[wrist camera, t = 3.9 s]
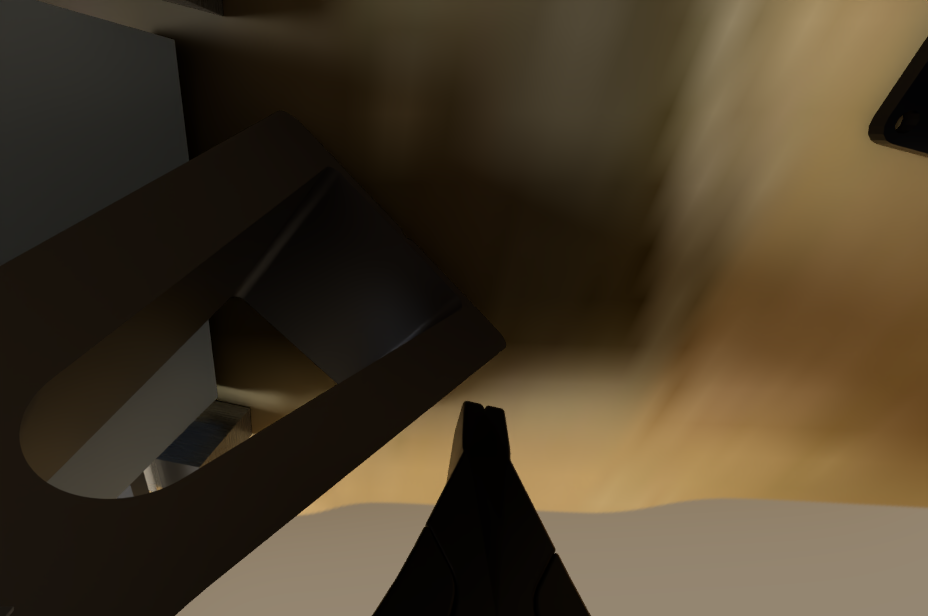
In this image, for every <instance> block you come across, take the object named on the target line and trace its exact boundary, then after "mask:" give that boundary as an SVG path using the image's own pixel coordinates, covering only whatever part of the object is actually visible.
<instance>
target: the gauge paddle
mask: <svg viewBox="0 0 928 616" xmlns="http://www.w3.org/2000/svg"><path fill="white" fill-rule="evenodd" d="M188 161H189V155H188V147H187V139H186V131H185V122H184V114H183V106H182V98H181V90H180V81H179V73H178V65H177V57H176V48H175V40H174V39H170V38H167V37H163V36H160V35H156V34H152V33H149V32H145V31H142V30H138V29H135V28H131V27H128V26H124V25H121V24H117V23H114V22H110V21H107V20H103V19H100V18H96V17H92V16H89V15H85V14H82V13H78V12H75V11H71V10H68V9H64V8H61V7H57V6H54V5H50V4H47V3H43V2H40V1H36V0H0V266H1V265H3V264H5V263H6V262H8V261H10V260H12V259H14V258H15V257H17V256H19V255H21V254H23V253H24V252H26V251H28V250H30V249H32V248H33V247H35V246H37V245H39V244H41V243H42V242H44V241H46V240H48V239H50V238H51V237H53V236H55V235H57V234H58V233H60V232H62V231H64V230H66V229H67V228H69V227H71V226H73V225H75V224H76V223H78V222H80V221H82V220H84V219H85V218H87V217H89V216H91V215H93V214H94V213H96V212H98V211H100V210H102V209H103V208H105V207H107V206H109V205H111V204H112V203H114V202H116V201H118V200H120V199H121V198H123V197H125V196H127V195H129V194H130V193H132V192H134V191H136V190H138V189H139V188H141V187H143V186H145V185H146V184H148V183H150V182H152V181H154V180H155V179H157V178H159V177H161V176H163V175H164V174H166V173H168V172H170V171H172V170H173V169H175V168H177V167H179V166H181V165H182V164H184V163H186V162H188ZM217 398H218V394H217V386H216V378H215V369H214V361H213V353H212V345H211V336H210V328H209V320H207V321H206V322H205V323H204V325H203V326H202V327H201V328H200V329H199V330H198V331H197V332H196V333H195V334H194V335H193V336H192V337H191V338H190V339H189V340H188V341H187V342H186V343H185V344H184V345H183V346H182V347H181V348H180V349H179V350H178V351H177V352H176V353H175V354H174V355H173V356H172V357H171V358H170V359H169V360H168V361H167V362H166V363H165V364H164V365H163V366H162V367H161V368H160V369H159V370H158V371H157V372H156V373H155V374H154V375H153V376H152V377H151V378H150V379H149V380H148V381H147V382H146V383H145V384H144V385H143V386H142V387H141V388H140V389H139V390H138V391H137V392H136V393H135V394H134V395H133V396H132V397H131V398H130V399H129V400H128V401H127V402H126V403H125V404H124V405H123V406H122V407H121V408H120V409H119V410H118V411H117V412H116V413H115V414H114V415H113V416H112V417H111V418H110V419H109V420H108V421H107V422H106V423H105V424H104V425H103V426H102V427H101V428H100V429H99V430H98V431H97V432H96V433H95V434H94V435H93V436H92V437H91V438H90V439H89V440H88V441H87V442H86V443H85V444H84V445H83V446H82V447H81V448H80V449H79V450H78V451H77V452H76V453H75V454H74V455H73V456H72V457H71V458H70V459H69V460H68V461H67V462H66V463H65V464H64V465H63V466H62V467H61V468H60V469H59V470H58V471H57V472H56V473H55V474H54V475H53V476H52V477H51V478H50V479H49V480H48V481H47V483H49V484H51V485H52V486H54V487H56V488H58V489H60V490H63V491H65V492H68V493H71V494H75V495H79V496H83V497H89V498H100V499H116V498H127V497H134V496H139V495H143V494H147V493H149V489H148V486H147V482H146V479H145V475H144V472H143V471H144V470H145V469H146V468H147V467H148V466H149V465H150V464H151V463H152V462H153V461H154V460H155V459H156V458H157V457H158V456H159V455H160V454H161V453H162V452H163V451H164V450H165V449H166V448H167V447H168V446H169V445H170V444H171V443H172V442H173V441H174V440H175V439H176V438H177V437H178V436H179V435H180V434H181V433H182V432H183V431H184V430H185V429H186V428H187V427H188V426H189V425H190V424H191V423H192V422H193V421H194V420H195V419H196V418H197V417H198V416H199V415H200V414H201V413H202V412H203V411H204V410H205V409H206V408H207V407H208V406H210V405H211V404H212V403H213V402H214V401H215V400H216V399H217Z"/></svg>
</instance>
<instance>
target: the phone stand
mask: <svg viewBox="0 0 928 616" xmlns="http://www.w3.org/2000/svg"><path fill="white" fill-rule="evenodd" d="M231 297H240V298H242V299H244V300H245V301H246V302H247V303H248V304H249V305H251V306H252V307H253V308H254V309H255V310H256V311H257V312H258V313H259V314H261V315H262V316H263V317H264V318H265V319H266V320H267V321H268V322H269V323H270V324H272V325H273V326H274V327H275V328H276V329H277V330H278V331H279V332H280V333H282V334H283V335H284V336H285V337H286V338H287V339H288V340H289V341H290V342H292V343H293V344H294V345H295V346H296V347H297V348H298V349H299V350H300V351H302V352H303V353H304V354H305V355H306V356H307V357H308V358H309V359H310V360H312V361H313V362H314V363H315V364H316V365H317V366H318V367H319V368H320V369H322V370H323V371H324V372H325V373H326V374H327V375H328V376H329V377H330V378H332V379H333V380H334V381H335V382H336V383H337V385H336V386H334V387H332V388H331V389H329V390H327V391H326V392H324V393H322V394H321V395H319V396H318V397H316V398H314V399H313V400H311V401H309V402H308V403H306V404H304V405H303V406H301V407H299V408H298V409H296V410H295V411H293V412H291V413H290V414H288V415H286V416H285V417H283V418H281V419H280V420H278V421H276V422H275V423H273V424H271V425H270V426H268V427H267V428H265V429H263V430H262V431H260V432H258V433H257V434H255V435H253V436H252V437H250V438H248V439H247V440H245V441H244V442H242V443H240V444H239V445H237V446H235V447H234V448H232V449H230V450H229V451H227V452H225V453H224V454H222V455H220V456H219V457H217V458H216V459H214V460H212V461H211V462H209V463H207V464H206V465H204V466H202V467H201V468H199V469H197V470H196V471H194V472H193V473H191V474H189V475H188V476H186V477H184V478H183V479H181V480H179V481H177V482H175V483H173V484H171V485H169V486H167V487H165V488H162V489H160V490H157V491H154V492H151V493H147V494H143V495H139V496H134V497H127V498H117V499H100V498H89V497H83V496H79V495H75V494H71V493H68V492H65V491H63V490H60V489H58V488H56V487H54V486H52V485H51V484H49V483H47V481H48V480H49V479H50V478H51V477H52V476H53V475H54V474H55V473H56V472H57V471H58V470H59V469H60V468H61V467H62V466H63V465H64V464H65V463H66V462H67V461H68V460H69V459H70V458H71V457H72V456H73V455H74V454H75V453H76V452H77V451H78V450H79V449H80V448H81V447H82V446H83V445H84V444H85V443H86V442H87V441H88V440H89V439H90V438H91V437H92V436H93V435H94V434H95V433H96V432H97V431H98V430H99V429H100V428H101V427H102V426H103V425H104V424H105V423H106V422H107V421H108V420H109V419H110V418H111V417H112V416H113V415H114V414H115V413H116V412H117V411H118V410H119V409H120V408H121V407H122V406H123V405H124V404H125V403H126V402H127V401H128V400H129V399H130V398H131V397H132V396H133V395H134V394H135V393H136V392H137V391H138V390H139V389H140V388H141V387H142V386H143V385H144V384H145V383H146V382H147V381H148V380H149V379H150V378H151V377H152V376H153V375H154V374H155V373H156V372H157V371H158V370H159V369H160V368H161V367H162V366H163V365H164V364H165V363H166V362H167V361H168V360H169V359H170V358H171V357H172V356H173V355H174V354H175V353H176V352H177V351H178V350H179V349H180V348H181V347H182V346H183V345H184V344H185V343H186V342H187V341H188V340H189V339H190V338H191V337H192V336H193V335H194V334H195V333H196V332H197V331H198V330H199V329H200V328H201V327H202V326H203V325H204V323H205V322H206V321H207V320H208V319H209V318H210V317H211V316H212V315H213V314H214V313H215V312H216V311H217V310H218V309H219V308H220V307H221V306H222V305H223V304H224V303H225V302H226V301H227V300H228V299H229V298H231ZM505 347H506V343H505V340H504V338H503V336H502V335H501V334H500V333H499V331H498V330H497V329H496V328H495V327H494V326H493V325H492V324H491V323H490V322H489V321H488V320H487V319H486V318H485V317H484V316H483V315H482V314H481V312H480V311H479V310H478V309H477V308H476V307H475V306H474V305H473V304H472V303H471V302H470V301H469V300H468V299H467V298H466V297H465V296H464V295H463V294H462V292H461V291H460V290H459V289H458V288H457V287H456V286H455V285H454V284H453V283H452V282H451V281H450V280H449V279H448V278H447V277H446V276H445V275H444V274H443V272H442V271H441V270H440V269H439V268H438V267H437V266H436V265H435V264H434V263H433V262H432V261H431V260H430V259H429V258H428V257H427V256H426V255H425V253H424V252H423V251H422V250H421V249H420V248H419V247H418V246H417V245H416V244H415V243H414V242H413V241H412V240H409V239H407V238H406V237H405V236H404V235H403V233H402V229H401V228H400V227H399V226H398V225H397V224H396V223H395V222H394V221H393V220H392V219H391V218H390V217H389V216H388V215H387V213H386V212H385V211H384V210H383V209H382V208H381V207H380V206H379V205H378V204H377V203H376V202H375V201H374V200H373V199H372V198H371V197H370V196H369V195H368V193H367V192H366V191H365V190H364V189H363V188H362V187H361V186H360V185H359V184H358V183H357V182H356V181H355V180H354V179H353V178H352V177H351V176H350V175H349V173H348V172H347V171H346V170H345V169H344V168H343V167H342V166H341V165H340V164H339V163H338V162H337V161H336V160H335V159H334V158H333V157H332V156H331V154H330V153H329V152H328V151H327V150H326V149H325V148H324V147H323V146H322V145H321V144H320V143H319V142H318V141H317V140H316V139H315V138H314V137H313V136H312V134H311V133H310V132H309V131H308V130H307V129H306V128H305V127H304V126H303V125H302V124H301V123H300V122H299V121H298V120H297V119H296V118H294V117H293V116H292V115H290V114H288V113H286V112H284V111H278V112H276V113H274V114H272V115H270V116H269V117H267V118H265V119H263V120H261V121H260V122H258V123H256V124H254V125H252V126H251V127H249V128H247V129H245V130H243V131H242V132H240V133H238V134H236V135H234V136H233V137H231V138H229V139H227V140H225V141H224V142H222V143H220V144H218V145H217V146H215V147H213V148H211V149H209V150H208V151H206V152H204V153H202V154H200V155H199V156H197V157H195V158H193V159H191V160H190V161H188V162H186V163H184V164H182V165H181V166H179V167H177V168H175V169H173V170H172V171H170V172H168V173H166V174H164V175H163V176H161V177H159V178H157V179H155V180H154V181H152V182H150V183H148V184H146V185H145V186H143V187H141V188H139V189H138V190H136V191H134V192H132V193H130V194H129V195H127V196H125V197H123V198H121V199H120V200H118V201H116V202H114V203H112V204H111V205H109V206H107V207H105V208H103V209H102V210H100V211H98V212H96V213H94V214H93V215H91V216H89V217H87V218H85V219H84V220H82V221H80V222H78V223H76V224H75V225H73V226H71V227H69V228H67V229H66V230H64V231H62V232H60V233H58V234H57V235H55V236H53V237H51V238H50V239H48V240H46V241H44V242H42V243H41V244H39V245H37V246H35V247H33V248H32V249H30V250H28V251H26V252H24V253H23V254H21V255H19V256H17V257H15V258H14V259H12V260H10V261H8V262H6V263H5V264H3V265H1V266H0V616H175V615H176V614H177V613H178V612H179V611H181V610H182V609H183V608H184V607H185V606H186V605H187V604H188V603H189V602H191V601H192V600H193V599H194V598H195V597H197V596H198V595H199V594H200V593H201V592H203V590H205V589H206V588H207V587H209V586H210V585H211V584H212V583H213V582H215V581H216V580H217V579H218V578H220V577H221V576H222V575H223V574H224V573H226V572H227V571H228V570H230V569H231V568H232V567H233V566H234V565H236V564H237V563H238V562H239V561H241V560H242V559H243V558H244V557H246V556H247V555H248V554H249V553H251V552H252V551H253V550H254V549H256V548H257V547H258V546H259V545H261V544H262V543H263V542H264V541H266V540H267V539H268V538H269V537H271V536H272V535H273V534H274V533H275V532H277V531H278V530H279V529H281V528H282V527H283V526H284V525H285V524H286V523H288V522H289V521H290V520H292V519H293V518H294V517H295V516H297V515H298V514H299V513H300V512H302V511H303V510H304V509H305V508H307V507H308V506H309V505H310V504H312V503H313V502H314V501H315V500H317V499H318V498H319V497H320V496H322V495H323V494H324V493H325V492H327V491H328V490H329V489H330V488H331V487H333V486H334V485H335V484H336V483H338V482H339V481H340V480H341V479H343V478H344V477H345V476H346V475H348V474H349V473H350V472H351V471H353V470H354V469H355V468H356V467H358V466H359V465H360V464H361V463H363V462H364V461H365V460H366V459H368V458H369V457H370V456H371V455H372V454H374V453H375V452H376V451H377V450H379V449H380V448H381V447H382V446H384V445H385V444H386V443H387V442H389V441H390V440H391V439H392V438H394V437H395V436H396V435H397V434H399V433H400V432H401V431H402V430H404V429H405V428H406V427H407V426H409V425H410V424H411V423H412V422H413V421H415V420H416V419H417V418H418V417H420V416H421V415H422V414H423V413H425V412H426V411H427V410H428V409H430V408H431V407H432V406H433V405H435V404H436V403H437V402H438V401H440V400H441V399H442V398H443V397H445V396H446V395H447V394H448V393H450V392H451V391H452V390H453V389H455V388H456V387H457V386H458V385H459V384H461V383H462V382H463V381H464V380H466V379H467V378H468V377H469V376H471V375H472V374H473V373H474V372H476V371H477V370H478V369H479V368H481V367H482V366H483V365H484V364H486V363H487V362H488V361H489V360H491V359H492V358H493V357H494V356H496V355H497V354H498V353H499V352H500V351H502V350H503V349H504V348H505Z"/></svg>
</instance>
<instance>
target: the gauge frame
mask: <svg viewBox="0 0 928 616" xmlns="http://www.w3.org/2000/svg"><path fill="white" fill-rule="evenodd" d="M164 1H167V2H171V3H175V4H179V5H183V6H186V7H190V8H194V9H198V10H202V11H205V12H209V13H213V14H217V15H221V16H223V7H222V0H164ZM251 435H252V431H251V416H250V408H248V407H243V406H238V405H233V404H228V403H224V402H219V401H214V402H213V403H212V404H211V405H210V406H208V407H207V408H206V409H205V410H204V411H203V412H202V413H201V414H200V415H199V416H198V417H197V418H196V419H195V420H194V421H193V422H192V423H191V424H190V425H189V426H188V427H187V428H186V429H185V430H184V431H183V432H182V433H181V434H180V435H179V436H178V437H177V438H176V439H175V440H174V441H173V442H172V443H171V444H170V445H169V446H168V447H167V448H166V449H165V450H164V451H163V452H162V453H161V454H160V455H159V456H158V457H157V458H156V459H155V460H154V461H153V462H152V463H151V464H150V465H149V466H148V467H147V468H146V469H145V470H144V471H143V472H144V475H145V479H146V482H147V486H148V489H149V491H153V492H154V491H157V490H160V489H161V488H165V487H167V486H169V485H171V484H173V483H175V482H177V481H179V480H181V479H183V478H184V477H186V476H188V475H189V474H191V473H193V472H194V471H196V470H197V469H199V468H201V467H202V466H204V465H206V464H207V463H209V462H211V461H212V460H214V459H216V458H217V457H219V456H220V455H222V454H224V453H225V452H227V451H229V450H230V449H232V448H234V447H235V446H237V445H239V444H240V443H242V442H244V441H245V440H247V439H248V438H249V437H250V436H251Z"/></svg>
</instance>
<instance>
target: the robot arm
mask: <svg viewBox="0 0 928 616" xmlns="http://www.w3.org/2000/svg"><path fill="white" fill-rule="evenodd" d="M902 115H903V120H902V122H901V124H900V126H899V127H898V128H897V129H896V130H895V125H896V122H897V120H898V119H899V118H900V117H901V116H902ZM868 135H869V137H870V139H871V140H872V141H873V142H875V143H877V144H880V145H884V146H888V147H891V148H895V149H899V150H903V151H906V152H910V153H914V154H917V155H921V156H925V157H928V37H927V38H926V40H925V41H924V43H923V44H922V46H921V47H920V48H919V50H918V51H917V53H916V54H915V56H914V57H913V59H912V60H911V62H910V63H909V65H908V66H907V68H906V69H905V71H904V72H903V74H902V75H901V77H900V78H899V80H898V81H897V83H896V84H895V86H894V87H893V89H892V90H891V92H890V93H889V95H888V96H887V98H886V99H885V101H884V102H883V104H882V105H881V107H880V108H879V110H878V111H877V113H876V114H875V116H874V117H873V119H872V121H871V123H870V125H869V131H868ZM554 553H555V547H554V545H553V543H552V541H551V539H550V537H549V535H548V533H547V531H546V529H545V527H544V525H543V523H542V521H541V520H540V518H539V516H538V514H537V512H536V510H535V508H534V506H533V504H532V502H531V500H530V498H529V496H528V494H527V492H526V490H525V488H524V486H523V484H522V482H521V480H520V478H519V476H518V474H517V472H516V470H515V468H514V466H513V464H512V462H511V460H510V445H509V438H508V431H507V425H506V418H505V412H504V410H503V409H501V408H497V407H492V406H486V408H485V409H484V407H483V406H482V405H481V404H479V403H474V402H470V401H465V402H464V403H463V405H462V408H461V412H460V415H459V419H458V422H457V426H456V429H455V434H454V440H453V446H452V452H451V458H450V464H449V470H448V477H447V483H446V485H445V487H444V489H443V491H442V493H441V495H440V497H439V499H438V501H437V503H436V505H435V507H434V509H433V511H432V513H431V515H430V517H429V519H428V521H427V522H426V525H425V527H424V528H423V530H422V532H421V534H420V536H419V538H418V539H417V541H416V543H415V546H414V547H413V549H412V551H411V553H410V554H409V556H408V558H407V560H406V562H405V563H404V565H403V567H402V569H401V571H400V572H399V574H398V576H397V578H396V579H395V581H394V582H393V584H392V585H391V587H390V588H389V590H388V592H387V593H386V595H385V596H384V598H383V600H382V601H381V602H380V604H379V606H378V607H377V609H376V610H375V612H374V613H373V615H372V616H591V615H590V613H589V612H588V610H587V608H586V606H585V604H584V602H583V601H582V599H581V597H580V595H579V593H578V591H577V589H576V587H575V586H574V584H573V582H572V580H571V578H570V577H569V574H568V572H567V570H566V568H565V566H564V564H563V563H562V561H561V558H560V557H559V555H558V554H557V553H555V554H554Z"/></svg>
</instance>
